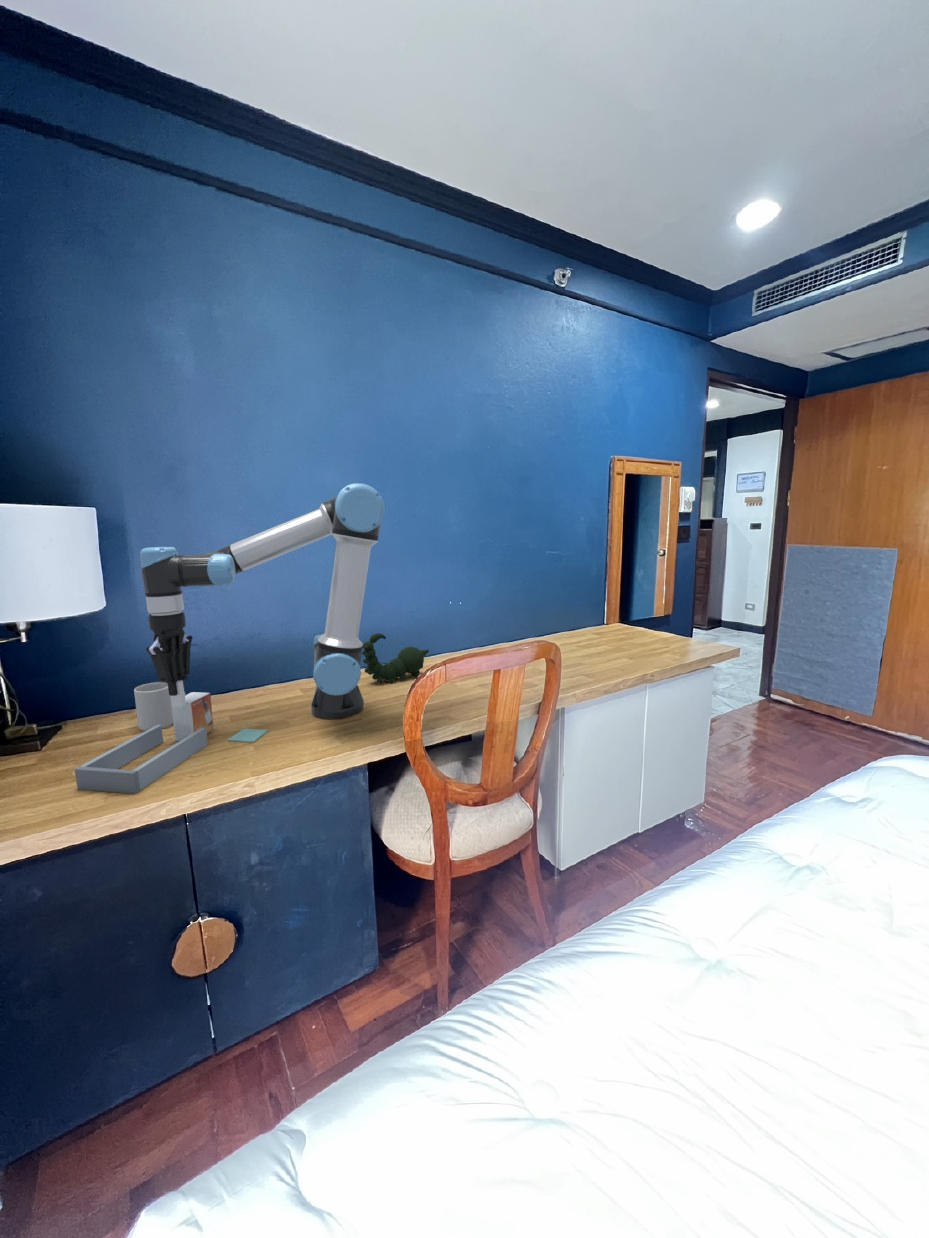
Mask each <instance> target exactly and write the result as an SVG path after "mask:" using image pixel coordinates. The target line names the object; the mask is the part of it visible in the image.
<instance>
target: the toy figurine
mask: <svg viewBox="0 0 929 1238" xmlns="http://www.w3.org/2000/svg"><path fill="white" fill-rule="evenodd" d="M380 639H382V640H383V639H384V640H386V639H387V637H386V635H384V634H383V633H379V632H377V633H374V634H372V635H371V636H370V638H369V641H364V642H363V647H362V654H361V655H363V656H364V658H365V659H362V662H363V664H366V666H367V667H366V668H364V673H365V674H368V675H369V676H372V679H373V680H375V681H377V682H378V683H382V682H383V681H385V682H386V681H387V682H389V684H394V683H395V679H396V678H399V679H400V680H401V681H404V680H406V679H407V674H409V675H410V676H411V675H412V677H413V676H415V677H416V678H417V677H418V675H419V676H420V673H421V672H420V671H421V669H423V668H424V662H425V656H426V655H427V654H428V653H429V652H430V649H421V650H420V649H419V648H418V647H415V646H407V647H404V648H403V649H402V650H400V651H399V653H398V654H397V657H395V658H394V659H391V660H390V662H388V663H384V664H382V663H380V661H379V657H378V656H377V655H376V649H375V648H374V647H375V646H374V644H375V643H377V642H378V641H379V640H380ZM415 677H414V678H415Z"/></svg>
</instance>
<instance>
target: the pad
mask: <svg viewBox="0 0 929 1238" xmlns="http://www.w3.org/2000/svg"><path fill="white" fill-rule="evenodd" d="M268 732H269V730H268V729H255V728H253V729H252V728H243V729H241V730H239V731H238V732H237V733H235V734H234V735H233V736H230V738H228V739H227V741H228V742H233V743H249V744H250V743H251V744H254V743H256V742H257V741H258V740H259V739H260V738H262V737H263V736H265V735H266V734H267V733H268Z"/></svg>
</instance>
